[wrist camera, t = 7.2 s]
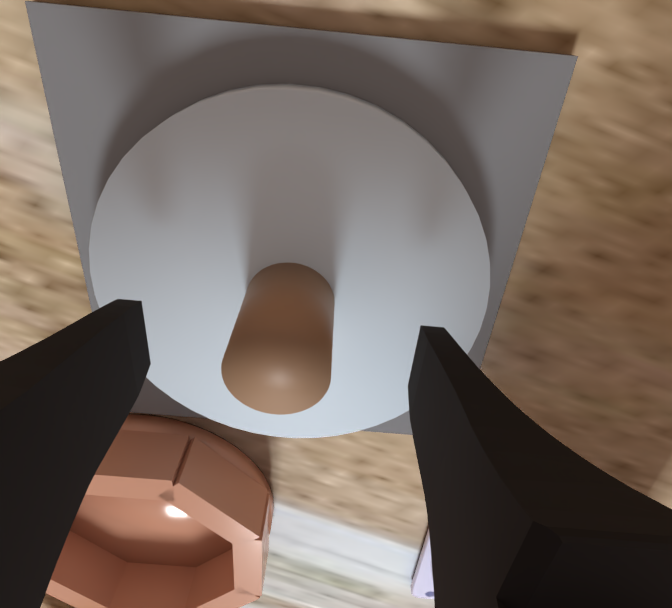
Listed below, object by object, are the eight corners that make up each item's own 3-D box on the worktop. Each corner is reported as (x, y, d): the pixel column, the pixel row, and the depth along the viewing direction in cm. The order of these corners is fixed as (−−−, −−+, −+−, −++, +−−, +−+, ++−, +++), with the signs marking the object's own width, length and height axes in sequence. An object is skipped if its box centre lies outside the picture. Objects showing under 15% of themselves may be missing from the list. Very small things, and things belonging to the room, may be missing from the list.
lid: (544, 126, 13) (622, 178, 9) (426, 437, 20) (444, 541, 16) (80, 44, 12) (-39, 64, 9) (119, 396, 19) (61, 496, 15)
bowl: (275, 425, 20) (265, 486, 18) (272, 571, 26) (263, 632, 23) (9, 403, 20) (-41, 462, 17) (65, 556, 26) (34, 616, 23)
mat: (571, 55, 13) (578, 56, 12) (456, 431, 20) (458, 438, 20) (33, 1, 12) (25, 1, 12) (117, 403, 20) (113, 410, 19)
